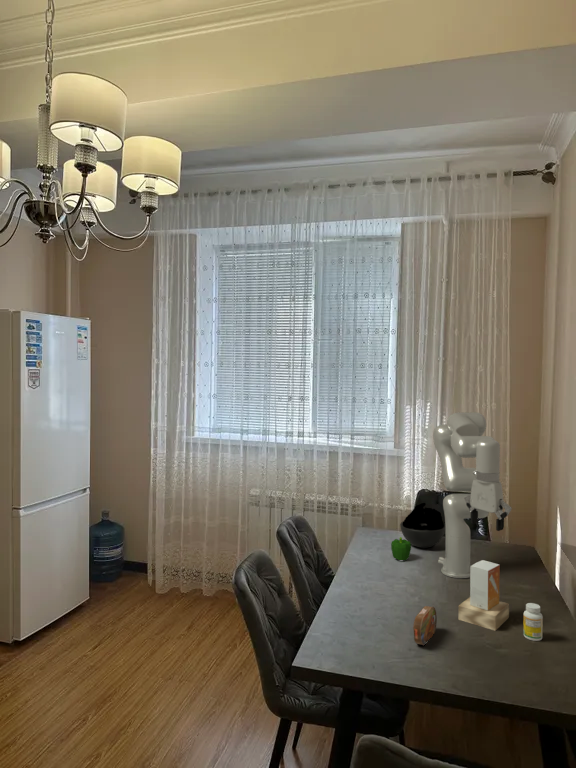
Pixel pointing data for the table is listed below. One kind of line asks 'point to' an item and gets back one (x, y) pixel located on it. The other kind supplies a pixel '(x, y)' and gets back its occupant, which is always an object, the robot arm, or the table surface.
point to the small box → (484, 584)
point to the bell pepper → (401, 549)
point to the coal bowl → (423, 527)
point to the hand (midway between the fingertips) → (486, 526)
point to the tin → (424, 625)
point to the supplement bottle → (533, 622)
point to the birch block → (484, 614)
